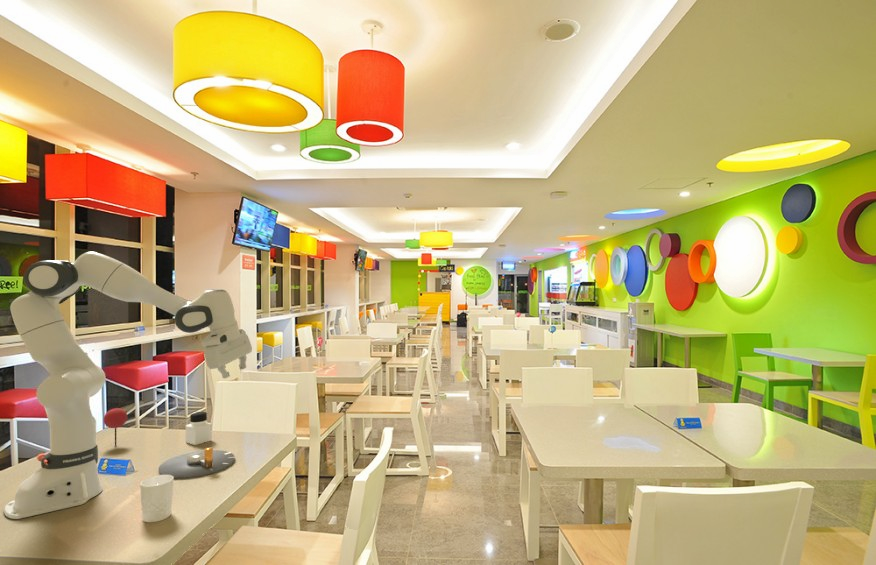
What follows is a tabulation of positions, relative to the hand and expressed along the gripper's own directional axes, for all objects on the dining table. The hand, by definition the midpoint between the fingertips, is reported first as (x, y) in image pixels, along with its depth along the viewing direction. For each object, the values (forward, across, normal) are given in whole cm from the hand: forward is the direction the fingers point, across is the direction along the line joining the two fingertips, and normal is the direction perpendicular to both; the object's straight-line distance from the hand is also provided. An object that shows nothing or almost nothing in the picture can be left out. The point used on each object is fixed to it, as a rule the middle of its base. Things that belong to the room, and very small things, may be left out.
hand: (235, 373), depth 162 cm
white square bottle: (+31, -19, -39) cm, 54 cm away
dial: (+29, +5, -18) cm, 34 cm away
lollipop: (+25, -8, -68) cm, 73 cm away
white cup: (+28, +39, -5) cm, 48 cm away
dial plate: (+30, +4, -21) cm, 37 cm away
